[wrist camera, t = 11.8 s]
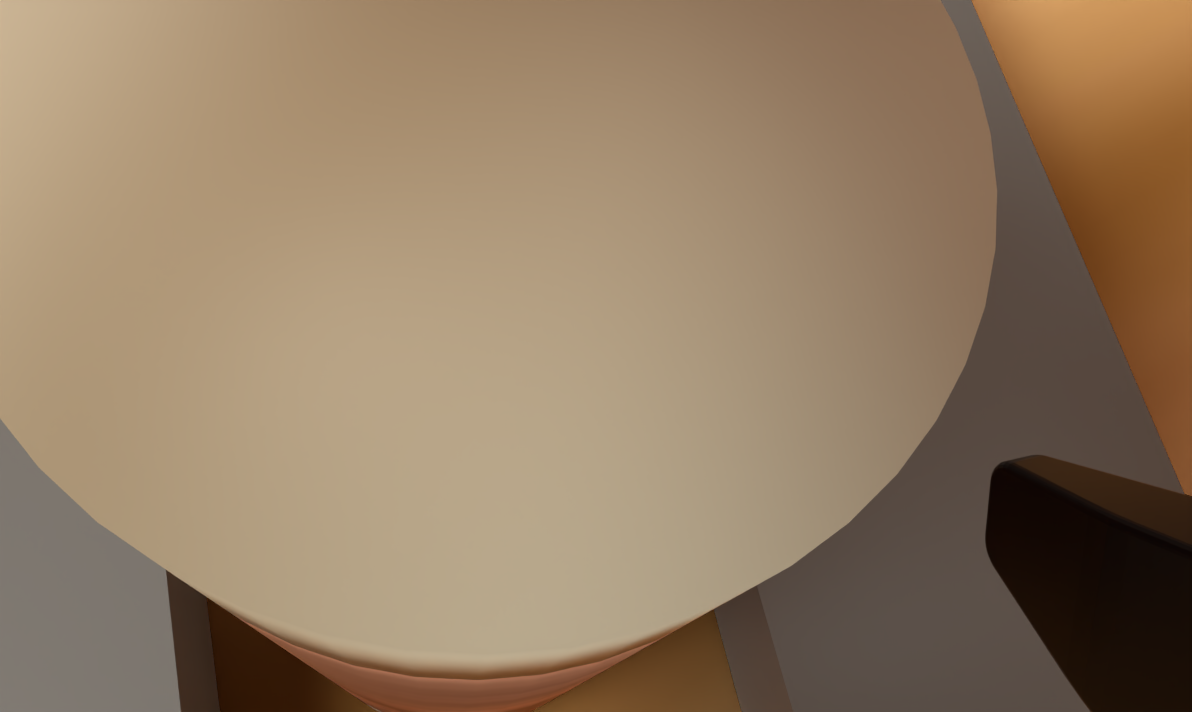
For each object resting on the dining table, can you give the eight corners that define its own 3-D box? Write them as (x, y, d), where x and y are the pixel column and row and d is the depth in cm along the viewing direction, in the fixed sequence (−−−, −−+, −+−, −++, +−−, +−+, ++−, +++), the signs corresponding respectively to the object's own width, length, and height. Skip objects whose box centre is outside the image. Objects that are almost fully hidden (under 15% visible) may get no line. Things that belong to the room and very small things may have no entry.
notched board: (1154, 689, 17) (1264, 678, 15) (-332, 1110, 13) (-503, 1187, 11) (865, -37, 22) (914, -130, 20) (-290, 88, 18) (-400, -13, 15)
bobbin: (661, 480, 17) (1079, -67, 6) (549, 783, 16) (842, 857, 4) (383, 366, 18) (259, -395, 6) (238, 654, 16) (-354, 358, 4)
